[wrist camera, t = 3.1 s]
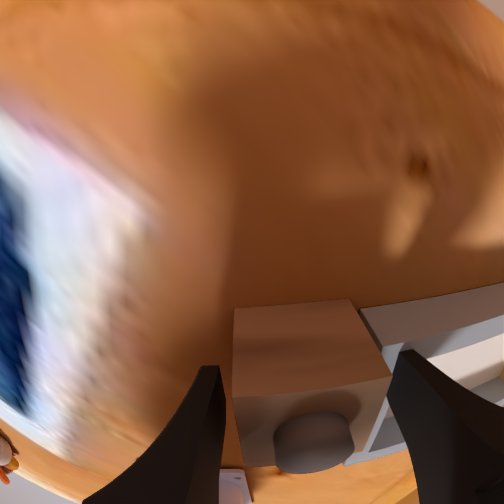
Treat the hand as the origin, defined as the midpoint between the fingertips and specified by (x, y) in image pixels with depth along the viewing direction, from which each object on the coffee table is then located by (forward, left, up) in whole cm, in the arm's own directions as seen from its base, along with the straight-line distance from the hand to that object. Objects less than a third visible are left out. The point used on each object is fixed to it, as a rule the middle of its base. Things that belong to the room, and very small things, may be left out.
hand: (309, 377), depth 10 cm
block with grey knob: (0, 0, -2) cm, 2 cm away
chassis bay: (-3, -10, -2) cm, 10 cm away
